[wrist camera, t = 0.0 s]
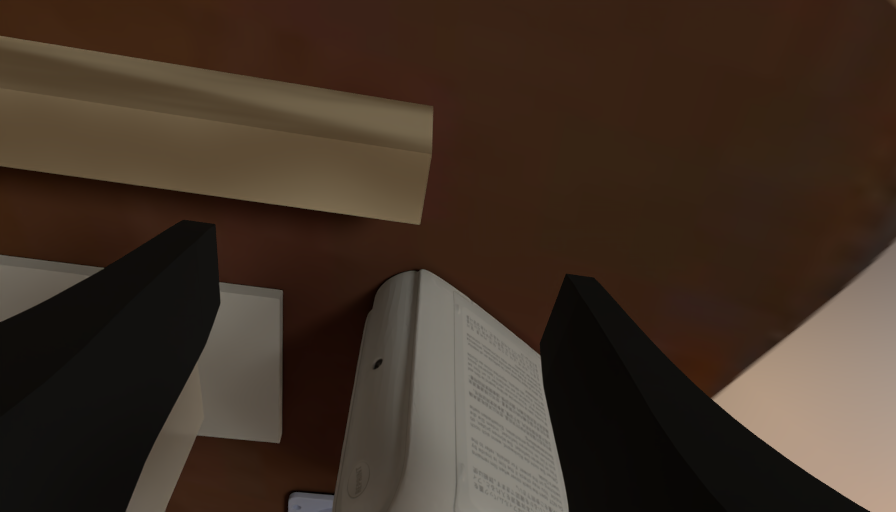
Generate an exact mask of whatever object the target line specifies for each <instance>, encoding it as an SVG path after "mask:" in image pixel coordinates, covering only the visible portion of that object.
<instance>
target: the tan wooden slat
mask: <svg viewBox="0 0 896 512" xmlns="http://www.w3.org/2000/svg"><path fill="white" fill-rule="evenodd" d="M432 130H433V106H428V105H421V104H415V103H409V102H403V101H397V100H391V99H385V98H378V97H372V96H366V95H360V94H354V93H348V92H342V91H335V90H329V89H323V88H317V87H311V86H305V85H299V84H292V83H286V82H280V81H274V80H268V79H262V78H256V77H249V76H243V75H237V74H231V73H225V72H219V71H213V70H206V69H200V68H194V67H188V66H182V65H176V64H169V63H163V62H157V61H151V60H145V59H139V58H133V57H126V56H120V55H114V54H108V53H102V52H96V51H90V50H83V49H77V48H71V47H65V46H59V45H53V44H47V43H40V42H34V41H28V40H22V39H16V38H10V37H4V36H0V166H4V167H11V168H18V169H25V170H32V171H39V172H47V173H54V174H61V175H68V176H75V177H82V178H89V179H97V180H104V181H111V182H118V183H125V184H132V185H140V186H147V187H154V188H161V189H168V190H175V191H182V192H190V193H197V194H204V195H211V196H218V197H225V198H233V199H240V200H247V201H254V202H261V203H268V204H276V205H283V206H290V207H297V208H304V209H311V210H318V211H326V212H333V213H340V214H347V215H354V216H361V217H369V218H376V219H383V220H390V221H397V222H404V223H412V224H419V225H420V221H421V215H422V209H423V203H424V197H425V191H426V185H427V180H428V174H429V168H430V162H431V156H432Z"/></svg>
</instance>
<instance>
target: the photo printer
mask: <svg viewBox="0 0 896 512" xmlns="http://www.w3.org/2000/svg"><path fill="white" fill-rule="evenodd" d="M332 512H569V509H568V501H567V495H566V490H565V484H564V479H563V474H562V470H561V465H560V461H559V456H558V452H557V448H556V443H555V439H554V434H553V430H552V425H551V421H550V416H549V411H548V407H547V402H546V397H545V392H544V387H543V379H542V368H541V356H540V355H539V354H538V353H536V352H535V351H534V350H533V349H532V348H530V347H529V346H528V345H527V344H526V343H525V342H523V341H522V340H521V339H519V338H518V337H517V336H516V335H515V334H513V333H512V332H511V331H510V330H508V329H507V328H506V327H505V326H503V325H502V324H501V323H500V322H498V321H497V320H496V319H495V318H493V317H492V316H491V315H490V314H488V313H487V312H486V311H484V310H483V309H482V308H481V307H479V306H478V305H477V304H475V303H474V302H473V301H471V300H470V299H469V298H468V297H467V296H465V295H464V294H463V293H461V292H460V291H458V290H457V289H456V288H454V287H453V286H451V285H450V284H449V283H447V282H446V281H444V280H443V279H441V278H440V277H438V276H436V275H435V274H433V273H431V272H429V271H427V270H424V269H421V270H420V271H418V272H417V271H407V272H403V273H400V274H397V275H395V276H393V277H392V278H390V279H388V280H387V281H386V282H385V283H384V284H383V285H382V286H381V287H380V288H379V289H378V291H377V293H376V295H375V299H374V304H373V309H372V310H371V311H370V312H369V313H368V315H367V319H366V322H365V326H364V332H363V337H362V341H361V347H360V353H359V358H358V364H357V370H356V375H355V382H354V387H353V392H352V398H351V403H350V409H349V415H348V420H347V426H346V431H345V437H344V442H343V448H342V454H341V460H340V466H339V472H338V477H337V483H336V489H335V494H334V500H333V507H332Z"/></svg>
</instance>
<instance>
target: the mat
mask: <svg viewBox="0 0 896 512" xmlns="http://www.w3.org/2000/svg"><path fill="white" fill-rule="evenodd" d="M102 269H104V268H101V267H93V266H85V265H77V264H69V263H61V262H53V261H45V260H36V259H28V258H20V257H12V256H4V255H0V322H1V321H4V320H6V319H8V318H10V317H13V316H15V315H17V314H19V313H21V312H23V311H25V310H27V309H30V308H32V307H34V306H36V305H38V304H40V303H42V302H44V301H46V300H48V299H50V298H51V297H53V296H55V295H57V294H59V293H61V292H62V291H64V290H66V289H68V288H70V287H71V286H73V285H75V284H77V283H79V282H81V281H82V280H84V279H86V278H88V277H90V276H92V275H93V274H95V273H97V272H99V271H100V270H102ZM219 287H220V302H221V304H220V306H219V309H218V312H217V315H216V318H215V321H214V324H213V327H212V329H211V332H210V335H209V337H208V340H207V343H206V345H205V347H204V349H203V351H202V353H201V355H200V357H199V359H198V369H199V377H200V386H201V395H202V403H203V412H204V419H203V422H202V424H201V426H200V429H199V431H198V433H197V435H200V436H210V437H221V438H231V439H242V440H252V441H262V442H273V443H280V439H281V436H282V345H283V290H277V289H269V288H261V287H253V286H245V285H237V284H229V283H221V282H219Z"/></svg>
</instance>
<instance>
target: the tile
mask: <svg viewBox="0 0 896 512" xmlns="http://www.w3.org/2000/svg"><path fill="white" fill-rule="evenodd" d="M203 419H204V412H203V403H202V395H201V386H200V377H199V369H198V361H197V363H196V365H195V367H194V369H193V371H192V373H191V375H190V377H189V379H188V380H187V382H186V384H185V386H184V388H183V390H182V392H181V394H180V396H179V397H178V399H177V401H176V403H175V405H174V407H173V409H172V411H171V413H170V414H169V416H168V418H167V420H166V422H165V424H164V426H163V428H162V430H161V431H160V433H159V435H158V437H157V439H156V441H155V443H154V445H153V447H152V449H151V451H150V454H149V456H148V458H147V460H146V462H145V464H144V467H143V469H142V472H141V474H140V477H139V479H138V482H137V484H136V487H135V489H134V492H133V494H132V497H131V499H130V502H129V504H128V507H127V509H126V512H164V511H165V509H166V507H167V504H168V502H169V500H170V497H171V495H172V493H173V490H174V488H175V485H176V483H177V481H178V478H179V476H180V474H181V471H182V469H183V467H184V464H185V462H186V459H187V457H188V455H189V452H190V450H191V448H192V445H193V443H194V441H195V438H196V436H197V433H198V431H199V429H200V426H201V424H202V422H203Z"/></svg>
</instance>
